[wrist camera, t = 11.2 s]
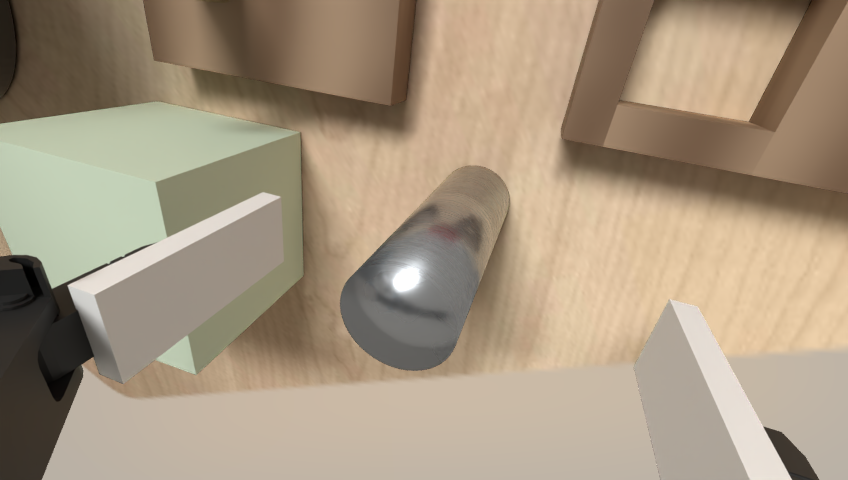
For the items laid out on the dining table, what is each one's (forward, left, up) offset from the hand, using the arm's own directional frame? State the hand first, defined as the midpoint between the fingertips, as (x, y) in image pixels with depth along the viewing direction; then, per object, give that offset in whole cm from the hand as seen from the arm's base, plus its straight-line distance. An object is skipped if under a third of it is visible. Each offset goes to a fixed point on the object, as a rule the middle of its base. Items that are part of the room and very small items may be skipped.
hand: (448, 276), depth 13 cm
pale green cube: (-14, -3, -7) cm, 16 cm away
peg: (0, 0, -7) cm, 7 cm away
